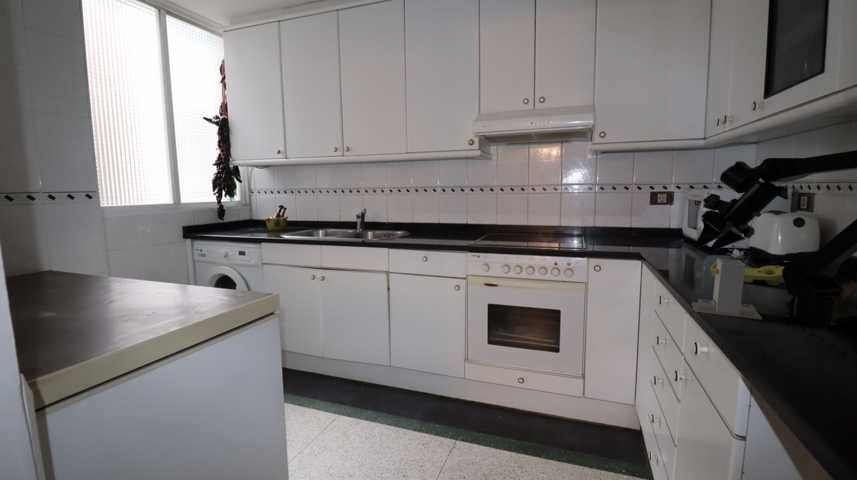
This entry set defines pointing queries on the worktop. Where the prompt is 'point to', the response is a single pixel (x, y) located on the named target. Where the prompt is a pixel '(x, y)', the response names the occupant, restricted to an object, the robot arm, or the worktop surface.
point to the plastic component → (759, 274)
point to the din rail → (710, 307)
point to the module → (728, 285)
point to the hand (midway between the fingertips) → (704, 248)
